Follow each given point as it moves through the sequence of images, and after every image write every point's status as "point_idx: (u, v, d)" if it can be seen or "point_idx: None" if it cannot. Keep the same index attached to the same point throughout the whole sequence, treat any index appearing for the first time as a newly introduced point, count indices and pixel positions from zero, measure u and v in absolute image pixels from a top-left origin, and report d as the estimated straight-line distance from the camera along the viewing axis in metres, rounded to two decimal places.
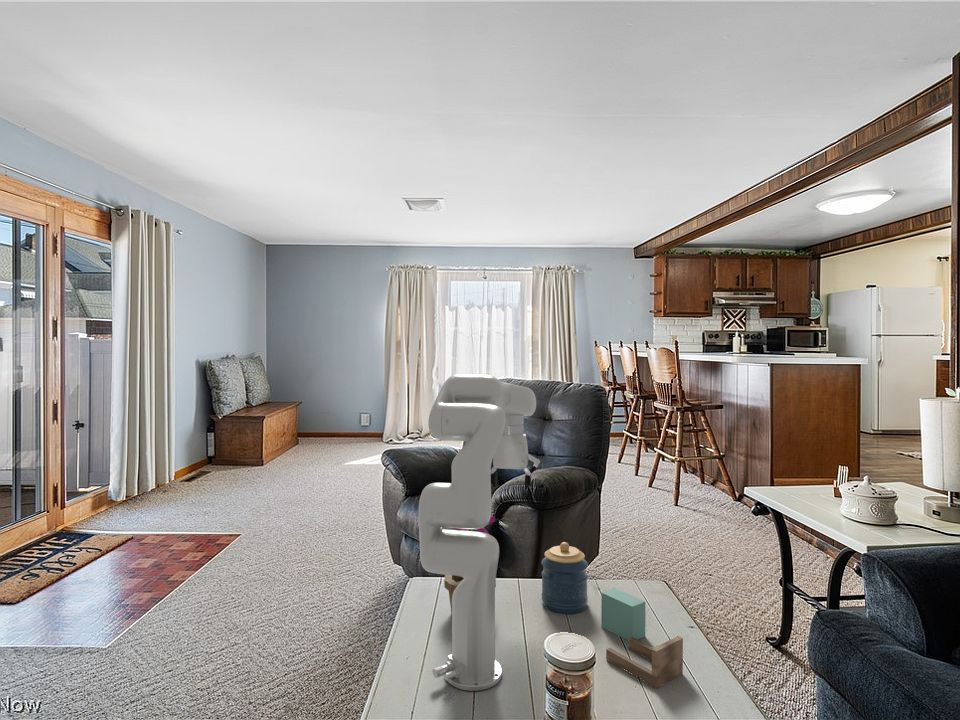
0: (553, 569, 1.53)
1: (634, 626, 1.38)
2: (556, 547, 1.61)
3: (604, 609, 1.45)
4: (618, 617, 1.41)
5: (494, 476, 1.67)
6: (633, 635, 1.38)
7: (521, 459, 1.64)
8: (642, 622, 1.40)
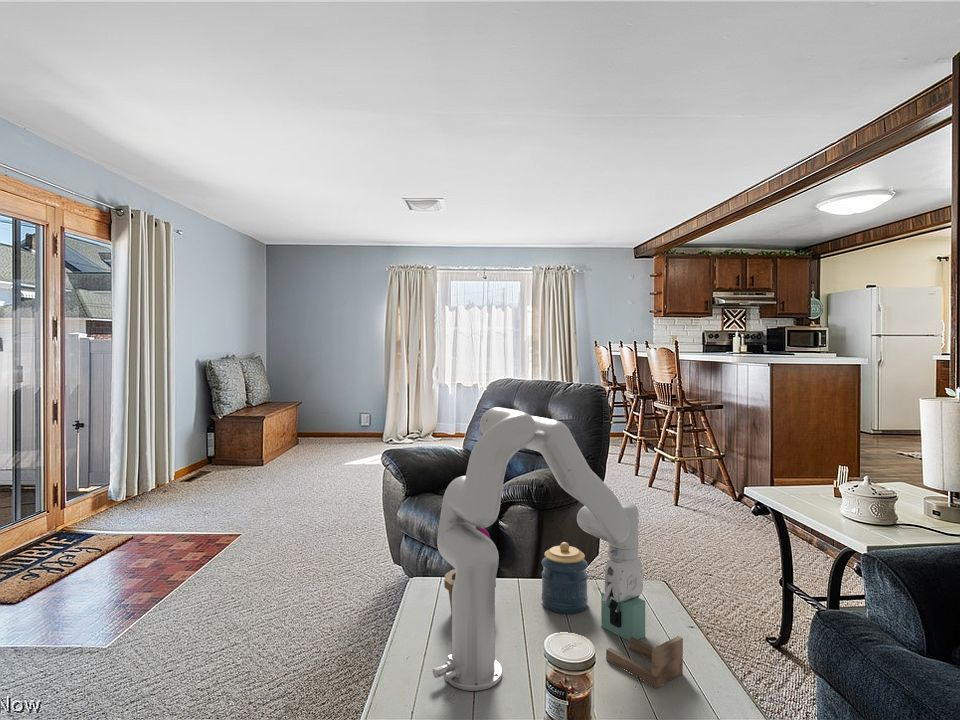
0: (553, 569, 1.53)
1: (634, 626, 1.38)
2: (556, 547, 1.61)
3: (604, 608, 1.45)
4: None
5: (620, 615, 1.40)
6: (633, 635, 1.38)
7: (640, 583, 1.43)
8: (642, 622, 1.40)
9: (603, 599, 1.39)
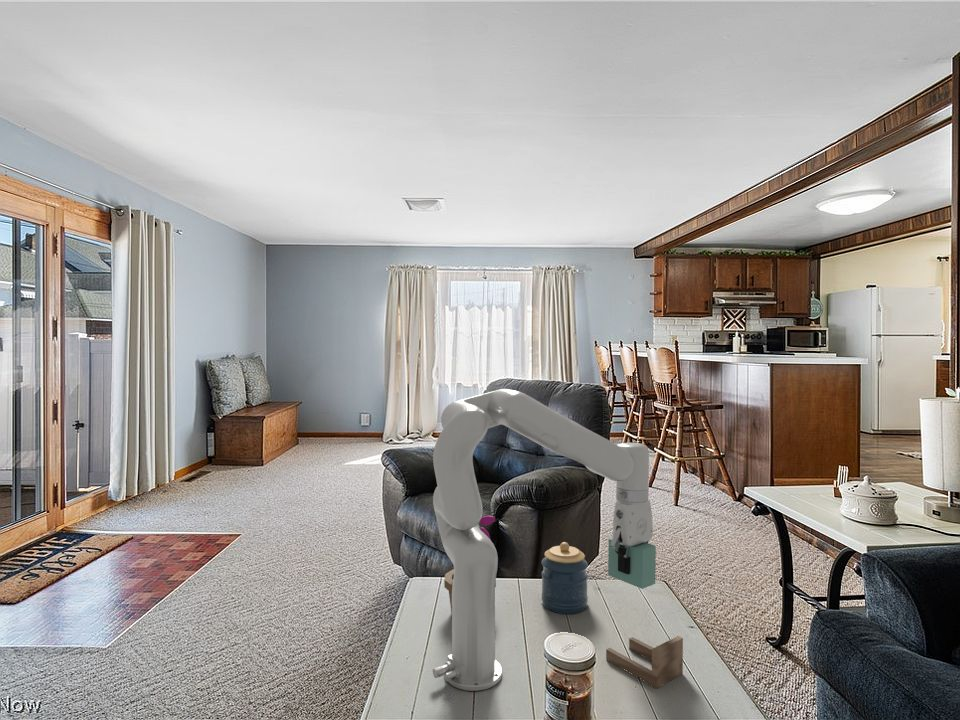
0: (553, 569, 1.53)
1: (644, 571, 1.30)
2: (556, 547, 1.61)
3: (611, 556, 1.37)
4: None
5: (629, 560, 1.32)
6: (643, 581, 1.30)
7: (650, 528, 1.35)
8: (653, 568, 1.32)
9: (612, 543, 1.31)
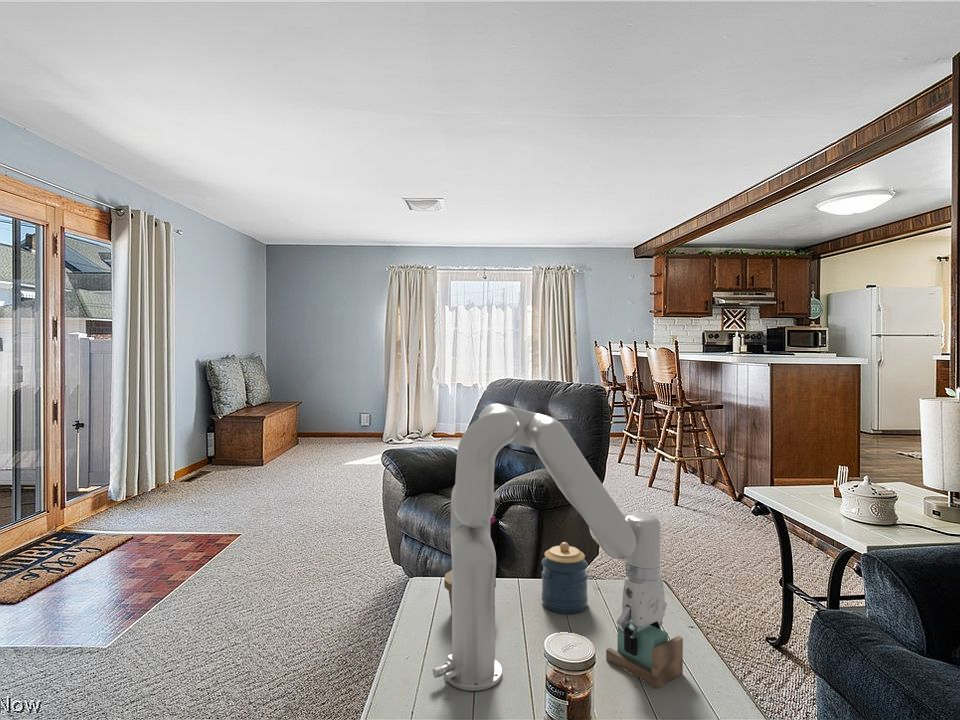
0: (553, 569, 1.53)
1: None
2: (556, 547, 1.61)
3: (621, 641, 1.29)
4: (637, 650, 1.25)
5: (636, 641, 1.24)
6: None
7: (662, 606, 1.27)
8: None
9: (618, 621, 1.23)
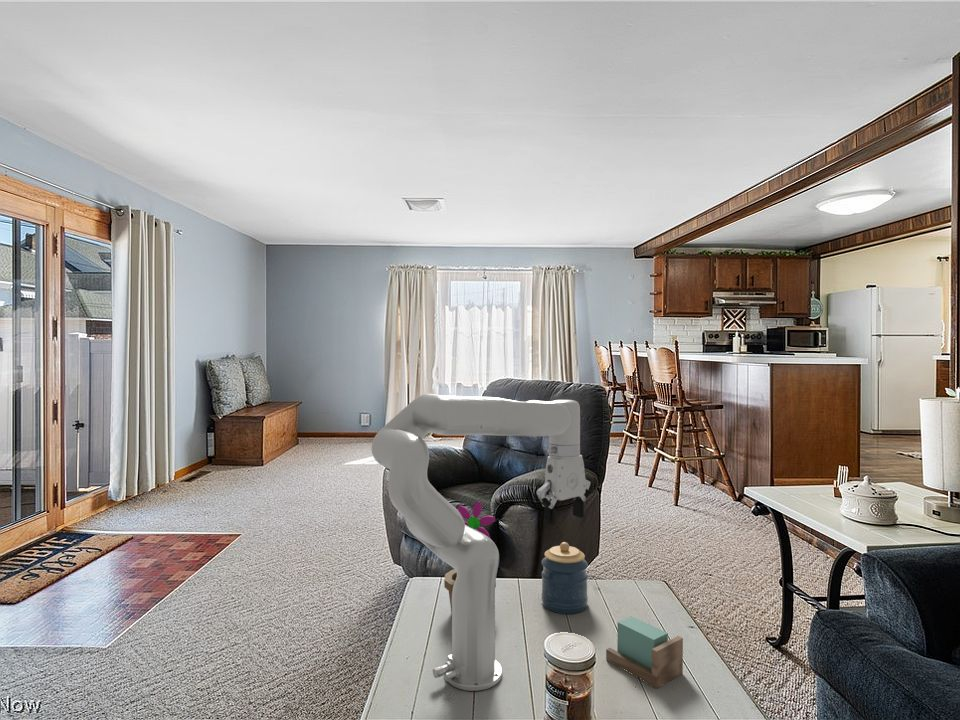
0: (553, 569, 1.53)
1: None
2: (556, 547, 1.61)
3: (621, 641, 1.29)
4: (637, 650, 1.25)
5: (554, 511, 1.33)
6: None
7: (582, 483, 1.37)
8: None
9: (538, 490, 1.32)
